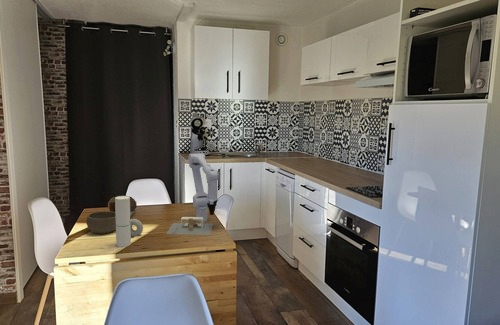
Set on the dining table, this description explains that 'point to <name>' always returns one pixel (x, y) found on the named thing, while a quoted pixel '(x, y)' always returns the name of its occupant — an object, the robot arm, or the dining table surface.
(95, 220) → the bowl
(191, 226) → the rake
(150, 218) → the dining table surface
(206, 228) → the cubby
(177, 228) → the metal bar
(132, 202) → the clay pot
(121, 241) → the cylindrical container
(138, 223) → the donut
